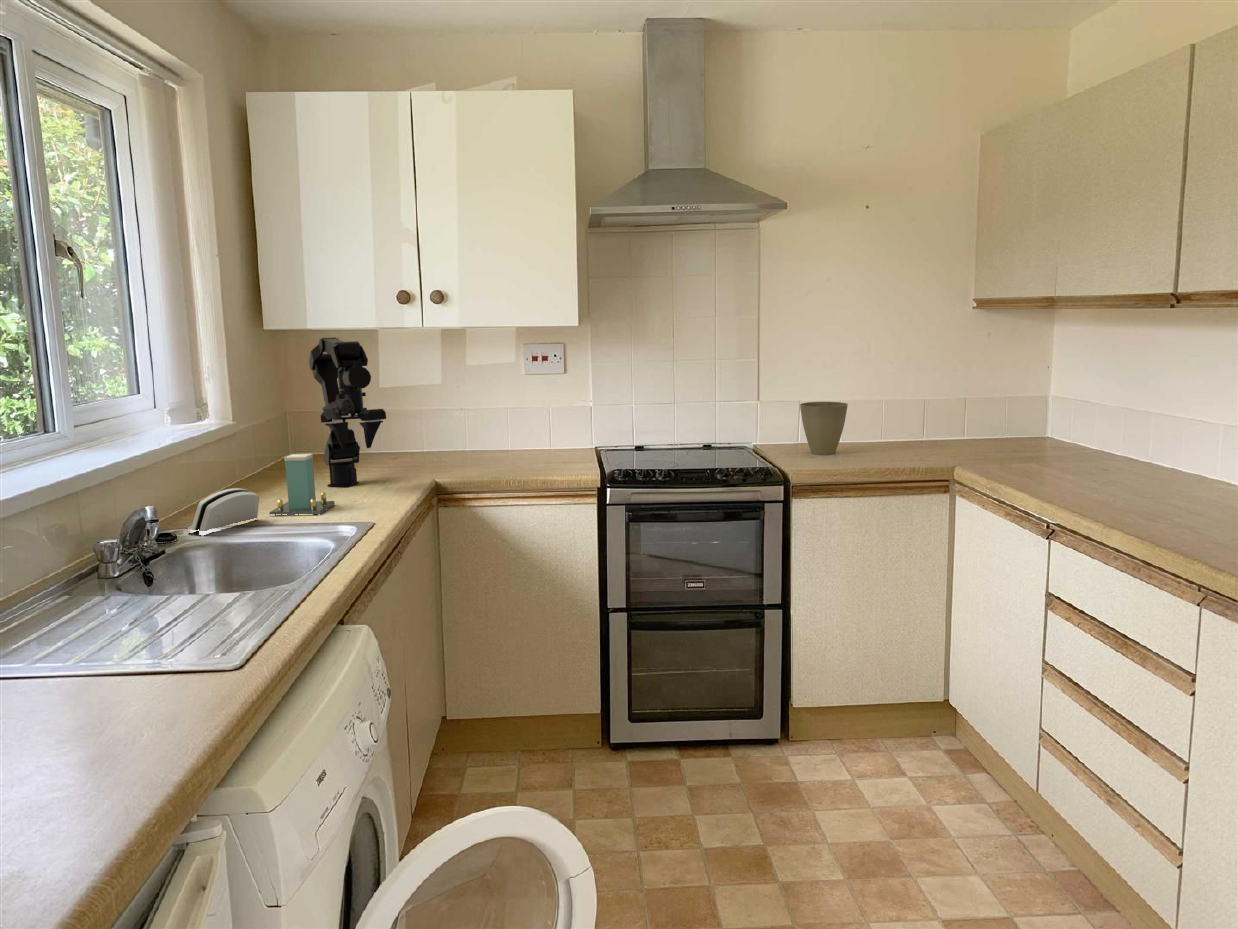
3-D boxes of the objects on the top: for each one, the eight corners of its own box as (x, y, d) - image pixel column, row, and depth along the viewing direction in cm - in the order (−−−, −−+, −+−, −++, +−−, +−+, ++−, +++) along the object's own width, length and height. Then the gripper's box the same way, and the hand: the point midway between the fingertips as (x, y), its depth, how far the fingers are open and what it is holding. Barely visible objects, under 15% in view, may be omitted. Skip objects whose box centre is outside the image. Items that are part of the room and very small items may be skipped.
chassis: (287, 505, 233) (286, 492, 233) (334, 504, 233) (333, 491, 233) (269, 516, 222) (268, 502, 221) (319, 515, 221) (318, 500, 221)
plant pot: (792, 451, 302) (793, 402, 299) (835, 448, 305) (836, 400, 302) (810, 458, 288) (810, 407, 285) (854, 455, 290) (855, 405, 287)
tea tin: (295, 504, 230) (291, 454, 228) (316, 503, 230) (312, 453, 228) (288, 508, 225) (284, 457, 223) (309, 508, 225) (305, 457, 223)
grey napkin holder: (241, 518, 220) (249, 480, 217) (256, 526, 218) (264, 488, 216) (185, 534, 205) (192, 494, 202) (200, 543, 203) (208, 502, 200)
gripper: (301, 392, 240) (307, 452, 242) (353, 389, 231) (358, 451, 232) (334, 390, 250) (339, 447, 251) (384, 387, 240) (390, 446, 242)
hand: (356, 448), depth 244 cm, fingers open, 9 cm apart
